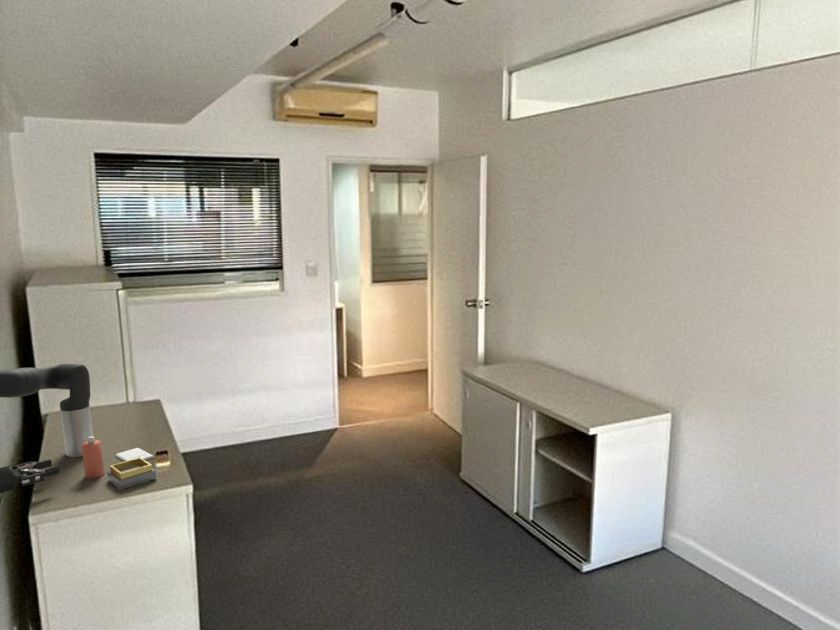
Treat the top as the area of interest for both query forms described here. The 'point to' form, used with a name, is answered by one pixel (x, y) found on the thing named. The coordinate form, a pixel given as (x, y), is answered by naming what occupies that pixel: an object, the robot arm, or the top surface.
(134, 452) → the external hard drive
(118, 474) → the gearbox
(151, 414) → the top surface
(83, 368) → the robot arm
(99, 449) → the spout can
